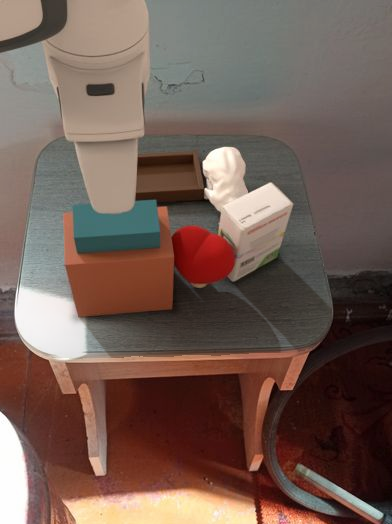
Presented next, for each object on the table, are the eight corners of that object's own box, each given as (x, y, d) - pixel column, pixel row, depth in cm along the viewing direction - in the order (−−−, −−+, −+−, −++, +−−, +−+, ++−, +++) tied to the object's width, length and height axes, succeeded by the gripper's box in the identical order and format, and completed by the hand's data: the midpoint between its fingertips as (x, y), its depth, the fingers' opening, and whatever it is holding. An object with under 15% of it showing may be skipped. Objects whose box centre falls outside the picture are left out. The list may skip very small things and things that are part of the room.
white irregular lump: (244, 137, 82) (265, 204, 78) (235, 176, 90) (255, 238, 86) (202, 142, 81) (221, 211, 77) (197, 181, 89) (215, 245, 85)
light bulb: (238, 279, 81) (247, 235, 72) (216, 315, 78) (223, 273, 69) (182, 253, 83) (184, 206, 74) (158, 287, 80) (157, 243, 71)
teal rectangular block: (77, 254, 67) (73, 238, 65) (75, 221, 69) (72, 204, 67) (160, 248, 68) (160, 232, 66) (156, 216, 71) (156, 199, 68)
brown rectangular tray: (119, 205, 87) (118, 194, 84) (115, 166, 90) (114, 154, 88) (203, 199, 88) (204, 188, 86) (196, 161, 92) (197, 150, 89)
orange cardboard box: (78, 317, 77) (64, 265, 66) (76, 269, 81) (63, 212, 70) (172, 309, 78) (174, 257, 68) (166, 262, 82) (167, 206, 71)
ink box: (258, 235, 85) (271, 179, 75) (278, 258, 84) (295, 203, 73) (212, 260, 83) (220, 204, 72) (232, 283, 81) (243, 230, 70)
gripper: (58, -17, 52) (79, 108, 64) (63, 141, 43) (86, 252, 55) (126, -19, 53) (134, 105, 65) (145, 136, 44) (150, 247, 56)
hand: (112, 174), depth 60 cm, fingers open, 8 cm apart
